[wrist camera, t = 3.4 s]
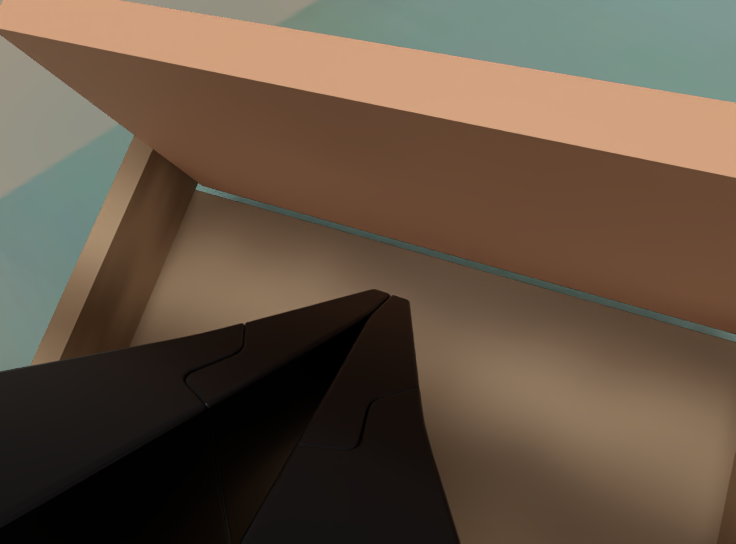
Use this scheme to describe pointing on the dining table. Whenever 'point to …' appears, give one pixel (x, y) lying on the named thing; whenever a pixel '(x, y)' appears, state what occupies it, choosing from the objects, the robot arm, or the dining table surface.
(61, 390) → the robot arm
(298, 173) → the wooden panel
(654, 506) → the wooden box tray
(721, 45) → the dining table surface
